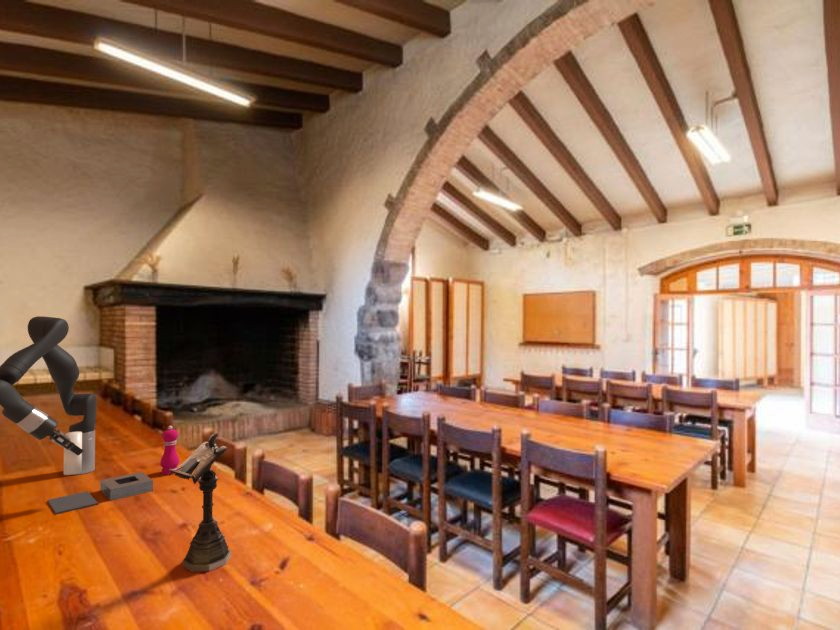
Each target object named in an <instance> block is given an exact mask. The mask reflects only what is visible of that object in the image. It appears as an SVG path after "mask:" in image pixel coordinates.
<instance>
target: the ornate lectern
mask: <svg viewBox="0 0 840 630" xmlns="http://www.w3.org/2000/svg"><path fill="white" fill-rule="evenodd" d="M218 437H219V433H218V432H217V433H212V434H211V435H210V437H209V438H208V441H203V443H201V444H200V445H199V446H198V447H197V448H196V449H195V450H194V451H193V452H192V453H191V454H190V455H189V456H188V458H186V459H185V460H184V461H183V462H182V463H181V464H179V465H177V468H176V469H170V470H169V471H170V472H171V473H170V474H169V475H168V476H171V475H173V474H172V473H175V474H174V476H176V477H178V478H180V479H184V480H188V481H189V480H190V479H192V482H193V485H196V483H198V484H199V487H198V489H199V491H202V494H203V497H202V502H203V503H202V504H203V505H202V506H201V508H202V515H203V516H202V520H201V521H200V522H199V524H198V529H197V531H196V533H195V535H194V536H193V537H192V540H191V541H190V542H189V548H188V551H187V553H186V554H185V557H184V558H183V560H182V566H183V567H184V568H185V569H186V570H188V571H189V572H191V573H194V572H196V573H197V572H198V573H199V572H200V573H201V572H211V571H213V570H215V569H218V568H220V567H223V566H225V565H227V564H228V562H229V560H230V558H231V556H232V550H230V548H229V545H228V543H227V542H226V539H225V538H226V536H225V535H224V533H223V532H222V531H221V529H220V527H219V525H218V520H217V519H216V518H214V517H213V506H214V505H215V503H214V502H213V495H214V494H213V492H214V490H216V488H218V487H217V486H218V484H217V483H218V480H219V478H218V476H217V474H216V472H215V471H214V470H213V469H211V468H212V465H213V464H214V462H216V460H218V459H219V458H220V457H221V456H222V455H223V454H225V452H226V451H227V450H228V449H227V448H228V447H227V446H224V445H222V446H220V447H219V446H218V445H217V444H216V439H217V438H218ZM176 470H178V471H176Z"/></svg>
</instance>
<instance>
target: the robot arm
mask: <svg viewBox="0 0 840 630" xmlns="http://www.w3.org/2000/svg"><path fill="white" fill-rule="evenodd" d="M69 328H70V327H69V324H68V321H67V320H66V319H64V318H60V317H53V316H44V315H43V316H40V315H38V316H34V317H32V318H30V319H29V321H28V324H27V332H28V335H29V338H30V340H31V341H32V344H29V345H28V346H26V347H23V348H22V349H20V350H18V351H15V352H14V353H12V354H11V355H10V356H9V357H7V359H6V360H4V362H3V363H2V364H1V365H0V406H1V407H2V410H1V414H2V416H3V417H5V418H7V419H8V420H9V421H11V422H12V423H14V424H16V425H17V426H18V427H19V428H20V429H22V430H23V431H25V432H26V433H28V434H29V435H30V436H32V437H33V438H35V439H37V440H39V441H40V440H41V441H42V440H43V439H46V437H48V439H49V440H50V441H51V442H52V443H54V444H56V445H58V446H59V447H61V448H62V447H63V448H64V447H65V448H66V449H67V450H70V451H72V452H73V453H75V454H76V455H80V454H81V453H82V471H81V472H80V473H77V474H73V476H74V475H84V474H88V473H92V472H94V471H95V469H96V468H95V465H96V423H97V422H96V421H97V410H98V399H97V396H96V394H94V393H75V392H74V389H73V387H74V386H75V384H76V382H77V381H78V379H79V377H80V373H81V372H80V369H79V366H78V364H77V361H76V360H75V357H73V356H72V354H70V352H67V350H65V349H64V348H62V347H61V346H60V345H59V344H61V342H63V341H64V340H65V338H66V337H67V336H68V333H69ZM41 358H42V359H43V361H44V363H45V365H46V367H47V369H48V373H49V374H50V377H51V379H52V380H53V383H54V384H55V388H56V389H57V391H58V395H59V397H60V401H61V404H62V407H63V410H64V412H65V413H66V415H67V416H72V417H73V416H74V417H77V416H78V417H79V416H83V418H82V420H80V421H79V422H75V423H73V424H70V425H69V427H68V433H69V432H82V449H81V448H79V447H78V446H76V445H75V443H73V442H71V441H70V438H68V437H67V436H65V435H64V434H65V433H64V432H63V431H61V430H60V429H56V428H57V427H58V425H59V422H58V420H56V419H54V417H51V416H50V415H48V413H46V412H44V411H43V410H41V409H39V408H37V407H36V406H34V405H32V404H31V403H30V402H28V401H27V400H25V399H24V397H23V396H22V395H21V394H20V393H19V391H18V390H17V389H16V388H15V387H14V385H15V384H16V383H18V382H19V381H20V380H21V379H22V378H23V377H24V376H25V374H26V373H27V372H29V370H30V369H31V368H32V367H33V366H34V365H35V364H36V363H37V362H38V361H39V360H40V359H41ZM68 442H69V443H70V444H69V445H68V446H65V445H66V444H67V443H68Z"/></svg>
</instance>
